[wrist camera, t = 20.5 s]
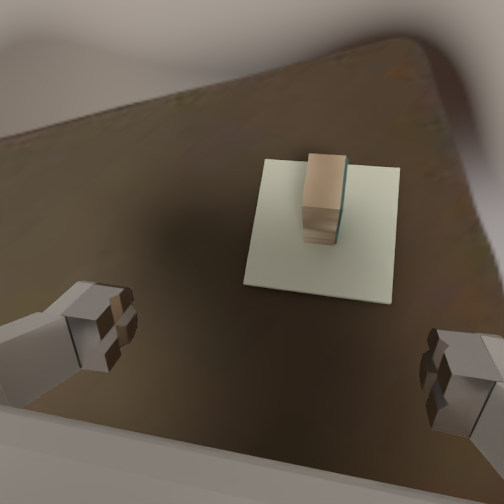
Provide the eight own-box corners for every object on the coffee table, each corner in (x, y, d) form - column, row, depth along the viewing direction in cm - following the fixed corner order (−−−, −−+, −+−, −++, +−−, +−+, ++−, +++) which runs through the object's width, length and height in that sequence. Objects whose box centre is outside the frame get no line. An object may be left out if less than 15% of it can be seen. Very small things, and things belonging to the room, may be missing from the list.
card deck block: (340, 202, 32) (348, 155, 25) (336, 246, 31) (343, 209, 24) (309, 200, 33) (309, 153, 26) (304, 242, 32) (301, 206, 25)
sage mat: (389, 304, 30) (391, 303, 29) (244, 284, 32) (243, 283, 32) (398, 171, 33) (399, 167, 33) (266, 162, 35) (265, 159, 35)
